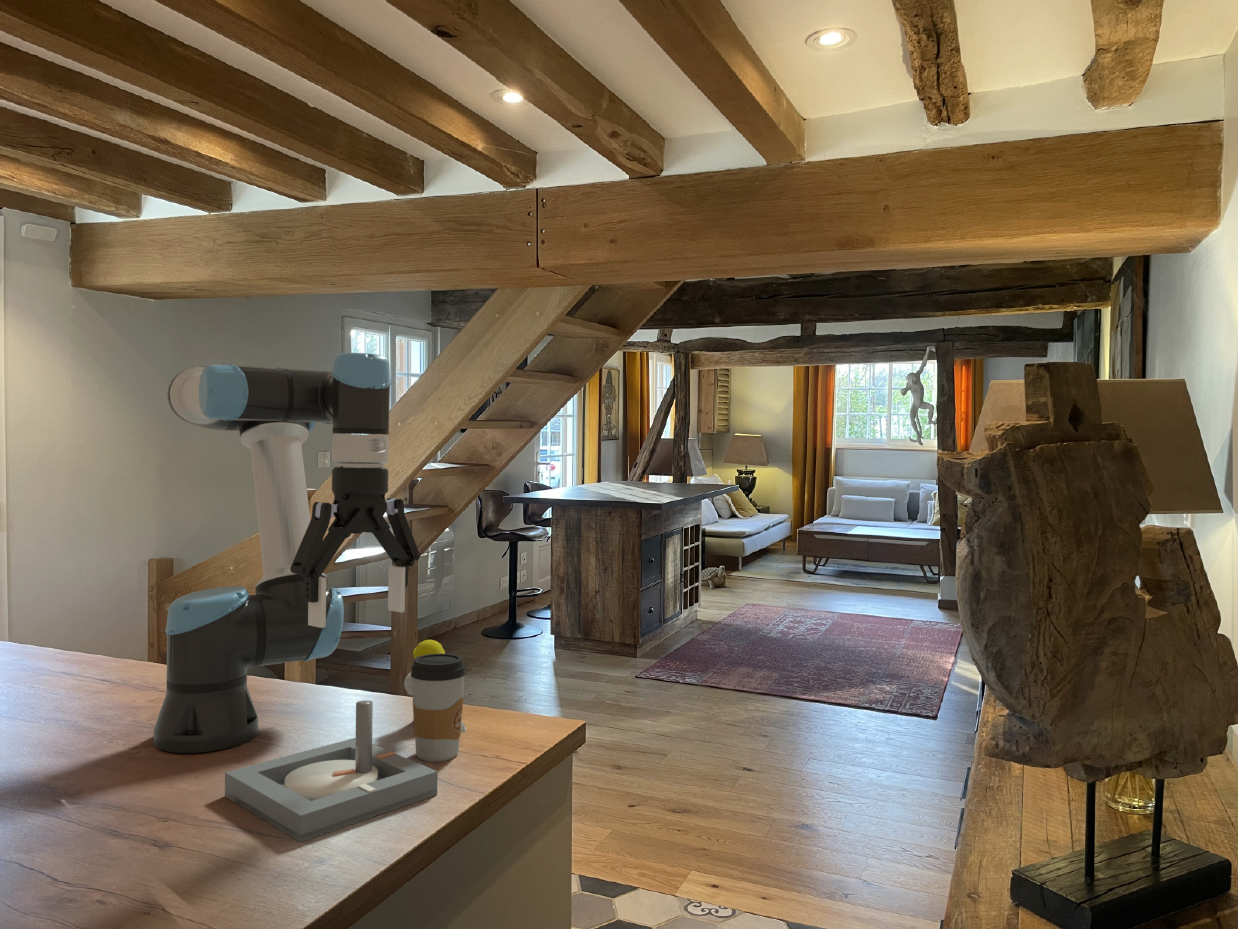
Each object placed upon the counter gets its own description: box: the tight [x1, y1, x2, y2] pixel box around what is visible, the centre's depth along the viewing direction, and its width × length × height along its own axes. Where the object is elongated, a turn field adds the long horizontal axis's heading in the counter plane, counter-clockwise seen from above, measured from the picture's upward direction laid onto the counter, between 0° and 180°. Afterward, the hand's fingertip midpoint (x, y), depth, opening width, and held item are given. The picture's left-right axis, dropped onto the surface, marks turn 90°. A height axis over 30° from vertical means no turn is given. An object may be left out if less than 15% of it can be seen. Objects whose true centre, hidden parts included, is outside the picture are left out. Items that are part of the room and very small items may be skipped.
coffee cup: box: [410, 653, 467, 763], centre depth 135 cm, size 8×8×15 cm
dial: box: [285, 699, 378, 801], centre depth 119 cm, size 12×12×11 cm
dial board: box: [224, 737, 438, 843], centre depth 119 cm, size 20×20×3 cm
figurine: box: [403, 639, 467, 733], centre depth 147 cm, size 10×9×15 cm
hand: (358, 618), depth 123 cm, fingers open, 13 cm apart
